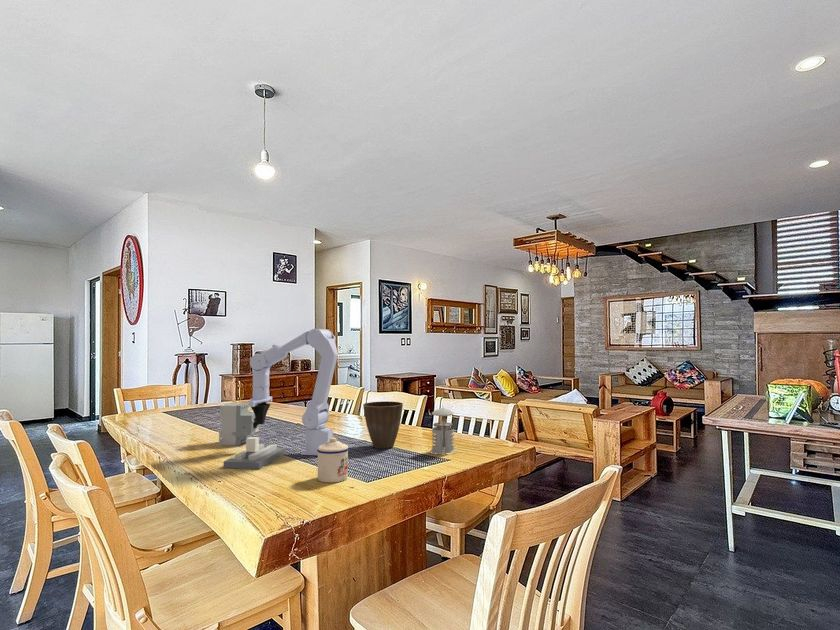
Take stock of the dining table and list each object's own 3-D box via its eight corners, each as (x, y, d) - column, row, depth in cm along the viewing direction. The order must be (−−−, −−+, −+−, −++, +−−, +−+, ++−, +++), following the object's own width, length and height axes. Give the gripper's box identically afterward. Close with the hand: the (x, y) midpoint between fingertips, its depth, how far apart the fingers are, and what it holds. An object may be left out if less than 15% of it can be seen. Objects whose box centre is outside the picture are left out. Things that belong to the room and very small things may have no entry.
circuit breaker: (255, 445, 178) (256, 405, 179) (218, 445, 179) (219, 405, 179) (262, 440, 186) (263, 403, 186) (227, 440, 186) (227, 403, 187)
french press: (455, 448, 172) (454, 380, 173) (459, 456, 160) (458, 383, 161) (428, 448, 171) (428, 380, 173) (430, 456, 160) (430, 383, 161)
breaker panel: (254, 452, 166) (254, 442, 167) (286, 453, 165) (286, 443, 165) (223, 467, 147) (223, 456, 147) (259, 469, 145) (259, 457, 145)
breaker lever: (250, 454, 154) (250, 436, 155) (259, 455, 154) (259, 437, 154) (245, 457, 152) (245, 438, 152) (254, 457, 151) (254, 439, 151)
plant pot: (357, 450, 169) (357, 406, 170) (370, 441, 184) (370, 400, 184) (396, 452, 166) (396, 407, 167) (407, 443, 180) (407, 401, 181)
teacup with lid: (343, 484, 130) (343, 441, 130) (312, 482, 131) (312, 441, 132) (354, 471, 142) (354, 433, 142) (326, 470, 143) (326, 432, 143)
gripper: (260, 384, 179) (259, 420, 179) (240, 388, 165) (239, 427, 164) (277, 384, 178) (277, 420, 178) (259, 388, 164) (258, 427, 163)
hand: (260, 423), depth 171 cm, fingers closed
